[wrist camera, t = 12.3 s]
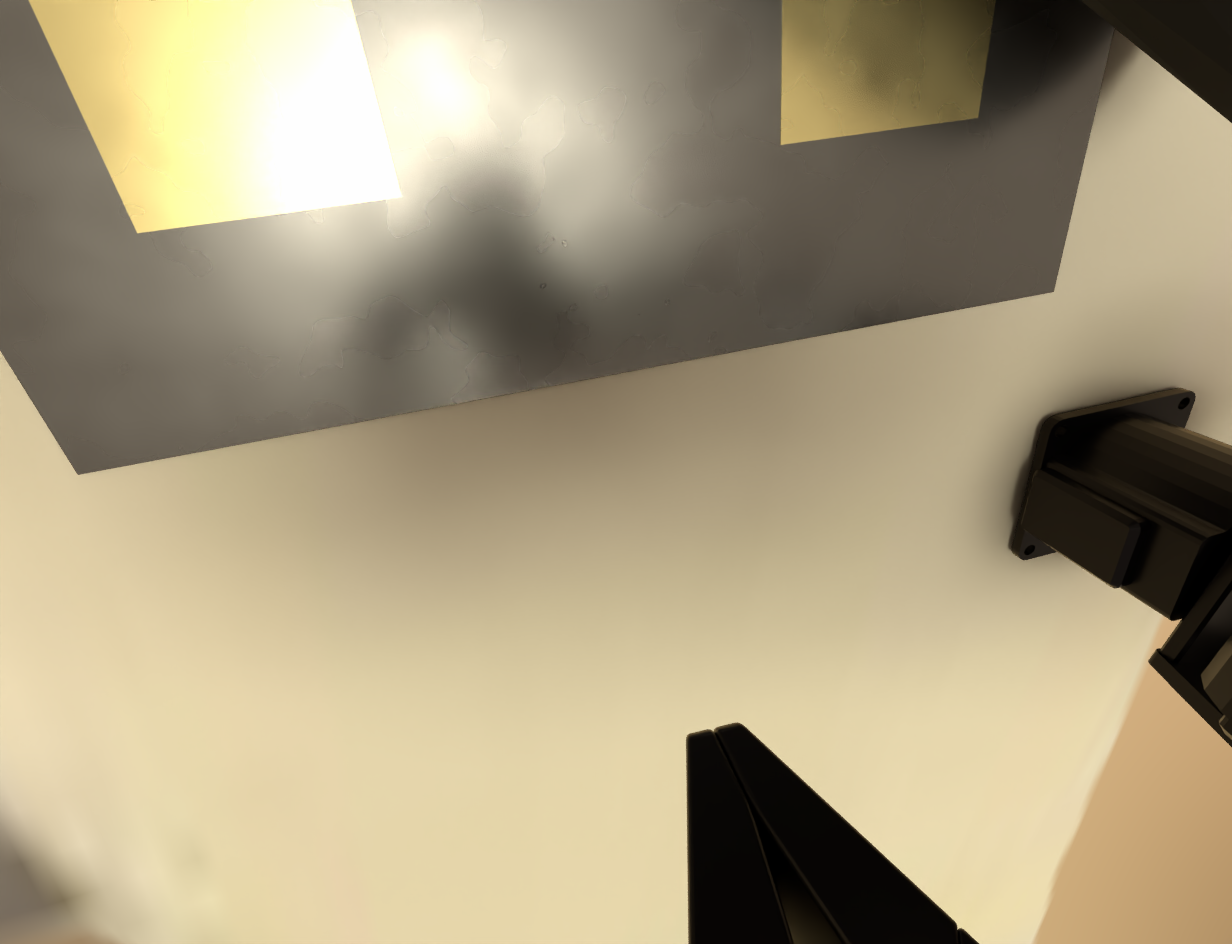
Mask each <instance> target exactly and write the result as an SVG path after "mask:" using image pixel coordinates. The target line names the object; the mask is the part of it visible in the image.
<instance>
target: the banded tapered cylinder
mask: <svg viewBox="0 0 1232 944" xmlns="http://www.w3.org/2000/svg"><path fill="white" fill-rule="evenodd" d="M1081 1H1082V2H1083V3H1085V4H1086V5H1087V6H1088V7H1089V8H1091V9H1092V10H1093V11H1094V12H1096V13H1097V14H1098V15H1099V16H1101V17H1102V18H1103V19H1104V20H1105V21H1107V22H1108V23H1109V24H1110V25H1112V26H1113V27H1114V28H1115V29H1117V30H1118V31H1119V32H1120V33H1122V34H1123V35H1124V36H1125V37H1126V38H1128V39H1129V40H1130V41H1131V42H1133V43H1134V44H1135V45H1136V46H1138V47H1139V48H1140V49H1141V50H1142V51H1144V52H1145V53H1146V54H1147V55H1149V56H1150V57H1151V58H1152V59H1154V60H1155V61H1156V62H1157V63H1159V64H1160V65H1161V66H1162V67H1163V68H1165V69H1166V70H1167V71H1168V72H1170V73H1171V74H1172V75H1173V76H1175V77H1176V78H1177V79H1178V80H1179V81H1181V82H1182V83H1183V84H1184V85H1186V86H1187V87H1188V88H1189V89H1191V90H1192V91H1193V92H1194V93H1195V94H1197V95H1198V96H1199V97H1200V98H1202V99H1203V100H1204V101H1205V102H1207V103H1208V104H1209V105H1210V106H1212V107H1213V108H1214V109H1215V110H1216V111H1218V112H1219V113H1220V114H1221V115H1223V116H1224V117H1225V118H1226V119H1228V120H1229V121H1230V122H1231V123H1232V0H1081Z"/></svg>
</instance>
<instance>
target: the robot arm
mask: <svg viewBox="0 0 1232 944" xmlns="http://www.w3.org/2000/svg"><path fill="white" fill-rule="evenodd" d="M1195 397H1196V396H1195V393H1194V392H1192V391H1189V390H1186V389H1183V388H1175V389H1171V390H1166V391H1162V392H1157V393H1153V394H1148V395H1144V396H1139V397H1135V398H1130V399H1126V400H1121V401H1117V402H1112V403H1108V404H1103V405H1098V406H1094V407H1089V408H1085V409H1080V410H1076V411H1071V412H1067V413H1062V414H1058V415H1054V416H1052V417H1050V418H1049V419H1047V420H1046V421H1045V423H1044V424H1043V425H1042V428H1041V430H1040V434H1039V438H1038V443H1037V447H1036V451H1035V455H1034V459H1033V463H1032V467H1031V471H1030V475H1029V479H1028V483H1027V487H1026V491H1025V495H1024V499H1023V503H1022V507H1021V511H1020V515H1019V519H1018V523H1017V528H1016V532H1015V536H1014V540H1013V544H1012V550H1011V551H1012V553H1013V554H1014V555H1016V556H1017V557H1019V558H1020V559H1022V560H1028V559H1032V558H1036V557H1039V556H1043V555H1047V554H1051V553H1055V552H1059V553H1060V554H1062V555H1063V556H1065V557H1066V558H1068V559H1069V560H1071V561H1072V562H1074V563H1075V564H1077V565H1078V566H1080V567H1081V568H1083V569H1084V570H1086V571H1088V572H1089V573H1091V574H1092V575H1094V576H1095V577H1097V578H1098V579H1100V580H1101V581H1103V582H1104V583H1106V584H1107V585H1109V586H1110V587H1113V588H1119V587H1120V588H1121V589H1123V590H1125V591H1126V592H1128V593H1129V594H1131V595H1132V596H1134V597H1135V598H1137V599H1138V600H1140V601H1142V602H1143V603H1145V604H1146V605H1148V606H1149V607H1151V608H1152V609H1154V610H1155V611H1157V612H1159V613H1160V614H1162V615H1163V616H1165V617H1166V618H1168V619H1169V620H1171V621H1175V620H1179V619H1182V620H1181V621H1180V622H1179V624H1178V625H1177V627H1176V628H1175V630H1174V631H1173V632H1172V634H1171V635H1170V637H1169V638H1168V639H1167V641H1166V642H1165V644H1164V645H1163V647H1162V648H1161V649H1156V650H1155V652H1154V653H1153V655H1152V656H1151V658H1150V659H1149V660H1148V662H1149V663H1150V665H1151V666H1152V667H1153V668H1154V669H1155V670H1156V671H1157V672H1158V673H1159V674H1160V675H1161V676H1162V677H1163V678H1164V679H1165V680H1166V681H1167V682H1168V683H1169V684H1170V686H1171V687H1172V688H1174V689H1175V691H1176V692H1177V693H1179V695H1180V696H1181V697H1182V698H1183V699H1185V701H1186V702H1187V703H1188V704H1189V705H1190V706H1191V707H1192V708H1193V709H1194V710H1195V711H1196V712H1197V713H1198V714H1199V715H1200V716H1201V717H1202V718H1203V719H1204V720H1205V721H1206V722H1207V723H1208V724H1209V725H1210V726H1211V727H1212V728H1213V729H1214V730H1215V731H1216V732H1217V733H1218V734H1219V735H1220V736H1221V737H1222V738H1223V739H1224V740H1225V741H1226V742H1227V743H1229V745H1230V746H1231V747H1232V446H1231V445H1228V444H1225V443H1223V442H1220V441H1217V440H1214V439H1212V438H1209V437H1206V436H1204V435H1201V434H1198V433H1196V432H1193V431H1190V430H1187V429H1185V426H1186V423H1187V420H1188V418H1189V415H1190V412H1191V410H1192V407H1193V404H1194V402H1195ZM686 769H687V855H688V940H689V944H979V943H978V942H977V941H976V940H975V939H973V938H972V937H971V936H970V935H969V934H968V933H967V932H966V931H965V930H964V929H962V928H959V929H958V930H957V924H956V922H955V921H954V920H953V919H952V918H951V917H949V916H948V915H947V914H946V913H945V912H944V911H943V910H942V909H941V908H940V907H939V906H938V905H937V904H935V903H934V902H933V901H932V900H931V899H930V898H929V897H928V896H927V895H926V894H925V893H924V892H923V891H921V890H920V889H919V888H918V887H917V886H916V885H915V884H914V883H913V882H912V881H911V880H910V879H909V878H908V877H906V876H905V875H904V874H903V873H902V872H901V871H900V870H899V869H898V868H897V867H896V866H895V865H894V864H892V863H891V862H890V861H889V860H888V859H887V858H886V857H885V856H884V855H883V854H882V853H881V852H880V851H878V850H877V849H876V848H875V847H874V846H873V845H872V844H871V843H870V842H869V841H868V840H867V839H866V838H864V837H863V836H862V835H861V834H860V833H859V832H858V831H857V830H856V829H855V828H854V827H853V826H852V825H850V824H849V823H848V822H847V821H846V820H845V819H844V818H843V817H842V816H841V815H840V814H839V813H838V812H836V811H835V810H834V809H833V808H832V807H831V806H830V805H829V804H828V803H827V802H826V801H825V800H824V799H822V798H821V797H820V796H819V795H818V794H817V793H816V792H815V791H814V790H813V789H812V788H811V787H810V786H808V785H807V784H806V783H805V782H804V781H803V780H802V779H801V778H800V777H799V776H798V775H797V774H796V773H795V772H793V771H792V770H791V769H790V768H789V767H788V766H787V765H786V764H785V763H784V762H783V761H782V760H781V759H779V758H778V757H777V756H776V755H775V754H774V753H773V752H772V751H771V750H770V749H769V748H768V747H767V746H765V745H764V744H763V743H762V742H761V741H760V740H759V739H758V738H757V737H756V736H755V735H754V734H753V733H751V732H750V731H749V730H748V729H747V728H746V727H745V726H744V725H742V724H740V723H732V724H728V725H724V726H719V727H717V728H715V729H714V732H713V731H712V730H709V729H707V730H703V731H699V732H695V733H691V734H688V735H687V737H686Z"/></svg>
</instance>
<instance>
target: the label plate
mask: <svg viewBox="0 0 1232 944" xmlns="http://www.w3.org/2000/svg"><path fill="white" fill-rule="evenodd" d="M1113 33H1114V27H1113V26H1112V25H1110V24H1109V23H1108V22H1107V21H1105V20H1104V19H1103V18H1102V17H1101V16H1099V15H1098V14H1097V13H1096V12H1094V11H1093V10H1092V9H1091V8H1089V7H1088V6H1087V5H1086V4H1085V3H1083V2H1082V1H1081V0H0V351H1V352H2V354H3V356H4V357H5V359H6V360H7V362H8V364H9V365H10V367H11V368H12V370H13V372H14V373H15V375H16V376H17V378H18V380H19V381H20V383H21V384H22V386H23V388H24V389H25V391H26V392H27V394H28V396H29V397H30V399H31V400H32V402H33V404H34V405H35V407H36V408H37V410H38V412H39V413H40V415H41V416H42V418H43V420H44V421H45V423H46V424H47V426H48V428H49V429H50V431H51V432H52V434H53V436H54V437H55V439H56V441H57V442H58V444H59V445H60V447H61V449H62V450H63V452H64V453H65V455H66V457H67V458H68V460H69V461H70V463H71V465H72V466H73V468H74V469H75V471H76V473H77V474H78V475H79V474H85V473H90V472H95V471H101V470H106V469H111V468H117V467H122V466H127V465H133V464H138V463H143V462H149V461H154V460H159V459H165V458H170V457H175V456H181V455H186V454H191V453H197V452H202V451H207V450H213V449H218V448H223V447H229V446H234V445H239V444H245V443H250V442H255V441H261V440H266V439H271V438H277V437H282V436H287V435H293V434H298V433H303V432H309V431H314V430H319V429H325V428H330V427H335V426H341V425H346V424H351V423H357V422H362V421H367V420H373V419H378V418H383V417H389V416H394V415H399V414H405V413H410V412H415V411H421V410H426V409H431V408H437V407H442V406H447V405H453V404H458V403H463V402H469V401H474V400H479V399H485V398H490V397H495V396H501V395H506V394H511V393H517V392H522V391H527V390H533V389H538V388H543V387H549V386H554V385H559V384H565V383H570V382H575V381H581V380H586V379H591V378H597V377H602V376H607V375H613V374H618V373H623V372H629V371H634V370H639V369H645V368H650V367H655V366H661V365H666V364H671V363H677V362H682V361H687V360H693V359H698V358H703V357H709V356H714V355H719V354H725V353H730V352H735V351H741V350H746V349H751V348H757V347H762V346H767V345H773V344H778V343H783V342H789V341H794V340H799V339H805V338H810V337H815V336H821V335H826V334H831V333H837V332H842V331H847V330H853V329H858V328H863V327H869V326H874V325H879V324H885V323H890V322H895V321H901V320H906V319H911V318H917V317H922V316H927V315H933V314H938V313H943V312H949V311H954V310H959V309H965V308H970V307H975V306H981V305H986V304H991V303H997V302H1002V301H1007V300H1013V299H1018V298H1023V297H1029V296H1034V295H1039V294H1045V293H1050V292H1054V288H1055V284H1056V280H1057V275H1058V271H1059V267H1060V262H1061V258H1062V254H1063V249H1064V245H1065V241H1066V236H1067V232H1068V228H1069V223H1070V219H1071V215H1072V210H1073V206H1074V202H1075V197H1076V193H1077V189H1078V184H1079V180H1080V176H1081V171H1082V167H1083V163H1084V158H1085V154H1086V150H1087V145H1088V141H1089V137H1090V132H1091V128H1092V124H1093V119H1094V115H1095V111H1096V106H1097V102H1098V98H1099V93H1100V89H1101V85H1102V80H1103V76H1104V72H1105V67H1106V63H1107V59H1108V54H1109V50H1110V46H1111V41H1112V37H1113Z"/></svg>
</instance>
